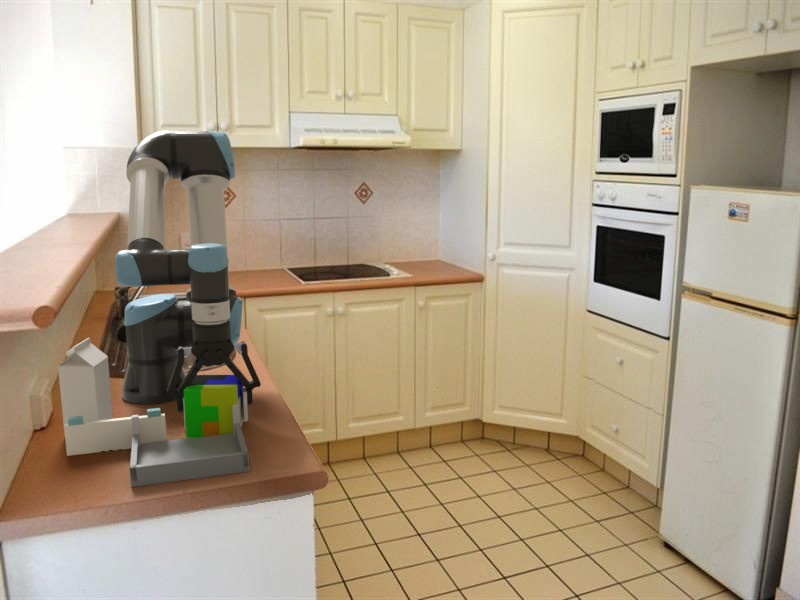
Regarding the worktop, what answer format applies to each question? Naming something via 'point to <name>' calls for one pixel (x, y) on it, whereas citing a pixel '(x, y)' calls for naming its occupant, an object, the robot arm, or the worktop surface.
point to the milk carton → (85, 384)
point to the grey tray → (188, 456)
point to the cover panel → (112, 433)
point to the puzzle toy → (212, 405)
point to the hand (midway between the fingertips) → (216, 422)
